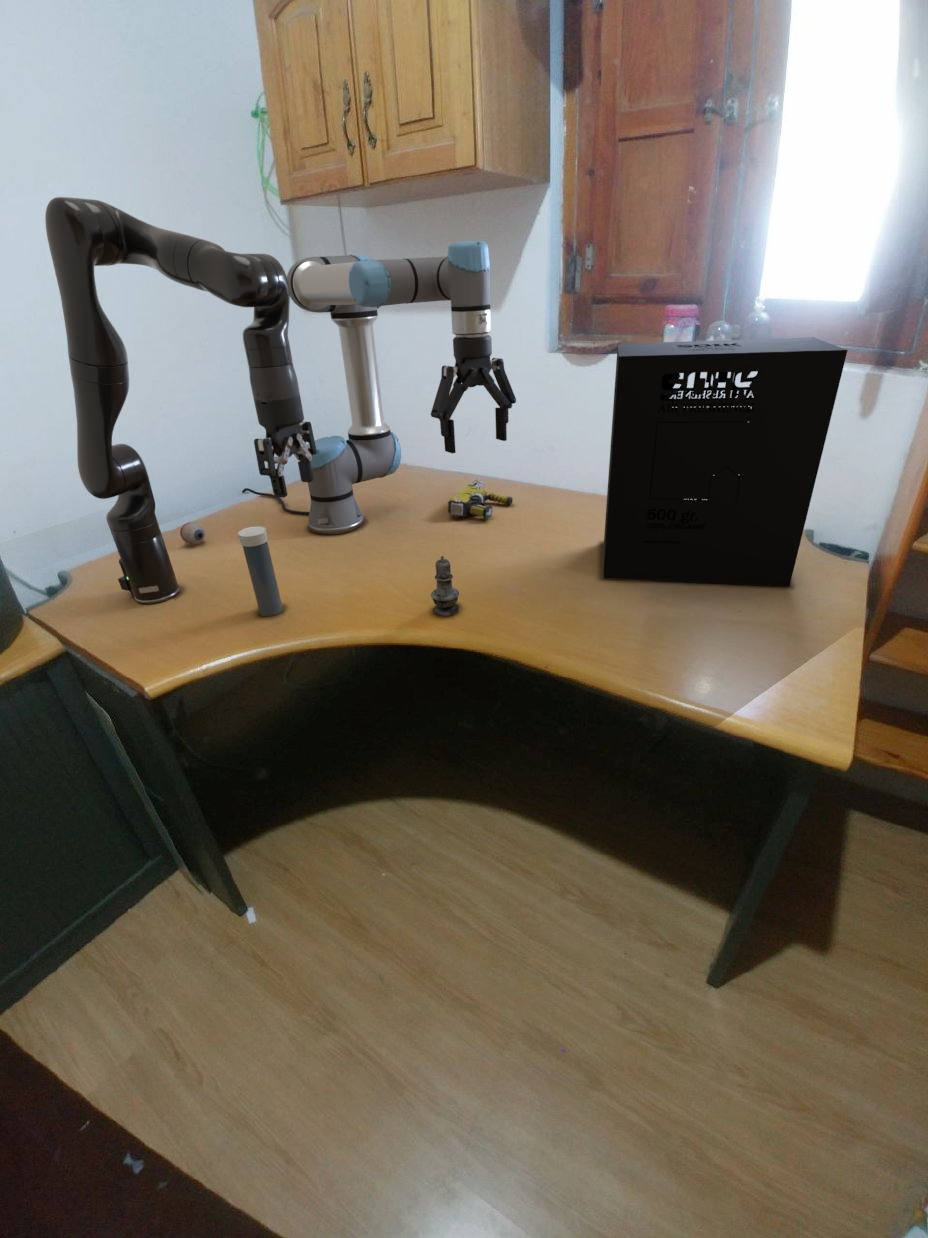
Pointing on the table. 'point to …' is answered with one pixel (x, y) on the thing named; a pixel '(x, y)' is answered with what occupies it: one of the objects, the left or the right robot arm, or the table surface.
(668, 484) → the cardboard box
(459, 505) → the toy gun
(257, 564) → the bottle
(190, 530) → the eyeball
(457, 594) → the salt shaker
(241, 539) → the white cylinder
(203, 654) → the table surface
